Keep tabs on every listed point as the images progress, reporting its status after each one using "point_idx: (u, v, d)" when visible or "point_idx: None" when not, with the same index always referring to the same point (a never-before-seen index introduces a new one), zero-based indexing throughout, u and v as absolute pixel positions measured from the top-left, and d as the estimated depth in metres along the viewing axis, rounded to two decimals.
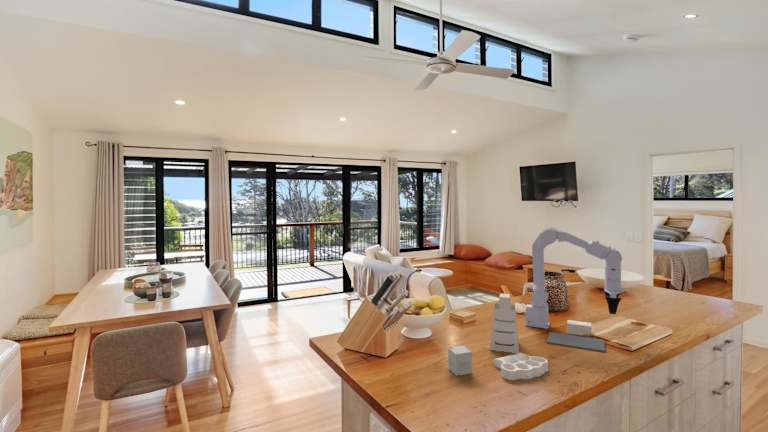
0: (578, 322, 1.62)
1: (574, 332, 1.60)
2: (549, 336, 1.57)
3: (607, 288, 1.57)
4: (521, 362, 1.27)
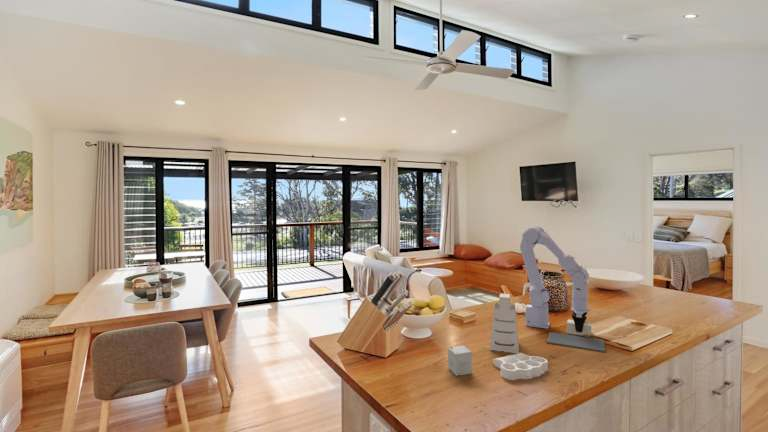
0: None
1: (574, 332, 1.60)
2: (549, 336, 1.57)
3: (574, 307, 1.60)
4: (521, 362, 1.28)
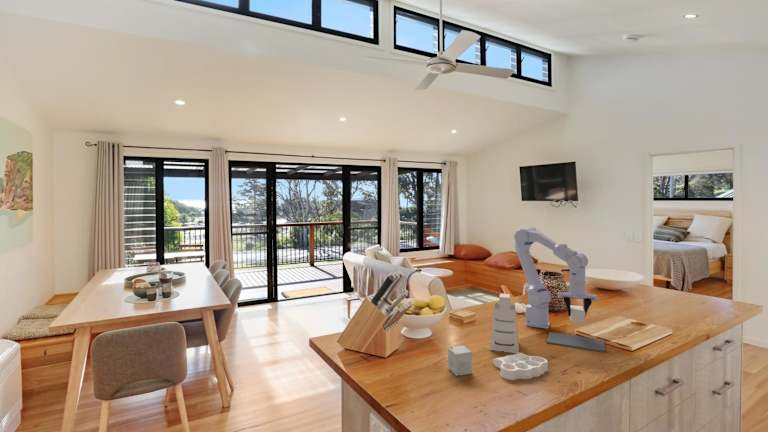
0: (578, 308, 1.58)
1: None
2: (549, 336, 1.57)
3: None
4: (521, 362, 1.28)
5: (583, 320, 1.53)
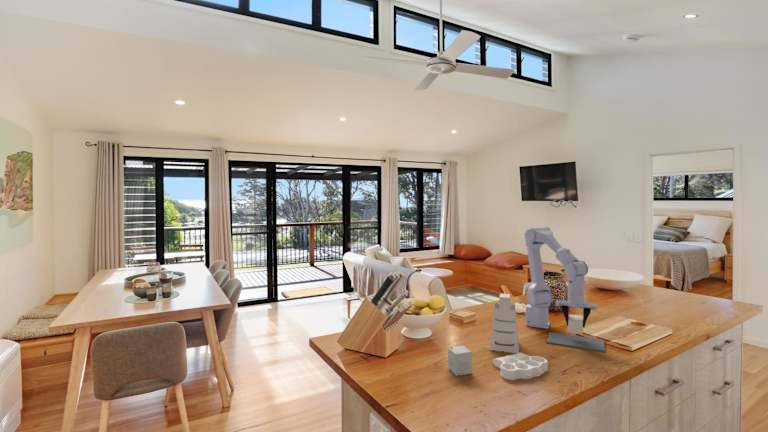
0: (577, 318, 1.51)
1: None
2: (549, 336, 1.57)
3: None
4: (521, 362, 1.28)
5: (580, 330, 1.47)
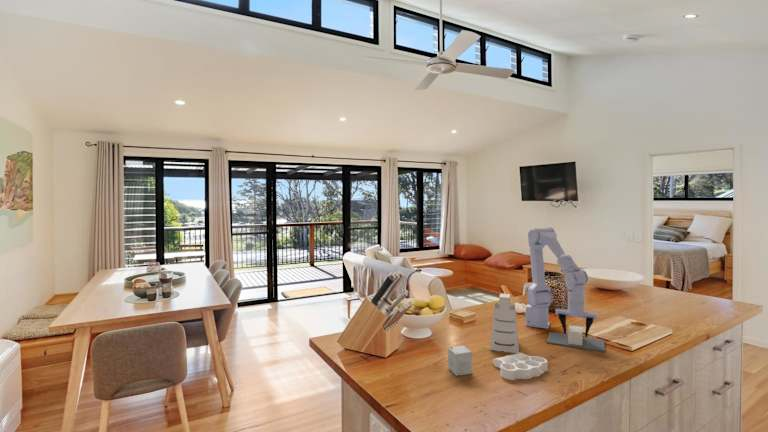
0: (577, 329, 1.51)
1: None
2: (549, 336, 1.57)
3: None
4: (521, 362, 1.28)
5: (580, 342, 1.47)
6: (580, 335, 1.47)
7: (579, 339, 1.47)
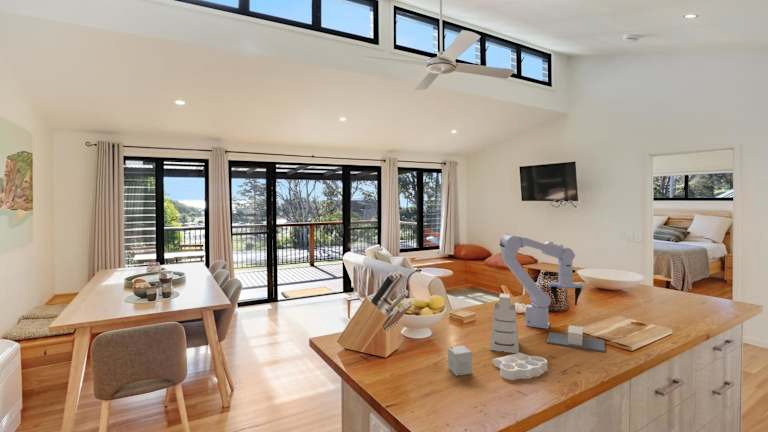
0: (577, 329, 1.51)
1: None
2: (549, 336, 1.57)
3: None
4: (521, 362, 1.28)
5: (580, 342, 1.47)
6: (580, 335, 1.47)
7: (579, 339, 1.47)
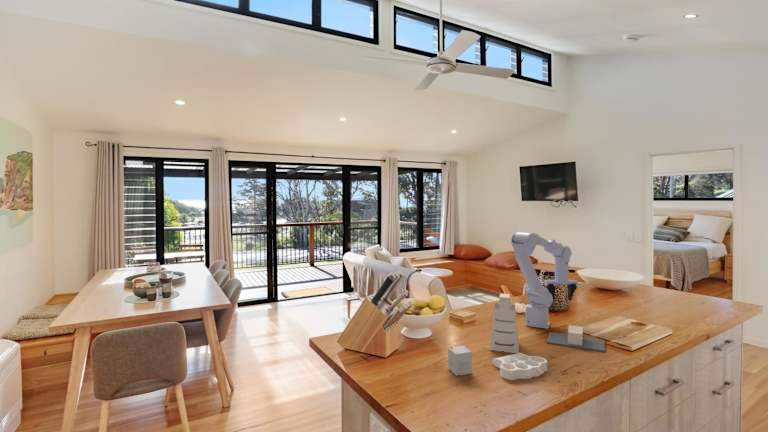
0: (577, 329, 1.51)
1: None
2: (549, 336, 1.57)
3: None
4: (521, 361, 1.28)
5: (580, 342, 1.47)
6: (580, 335, 1.47)
7: (579, 339, 1.47)
